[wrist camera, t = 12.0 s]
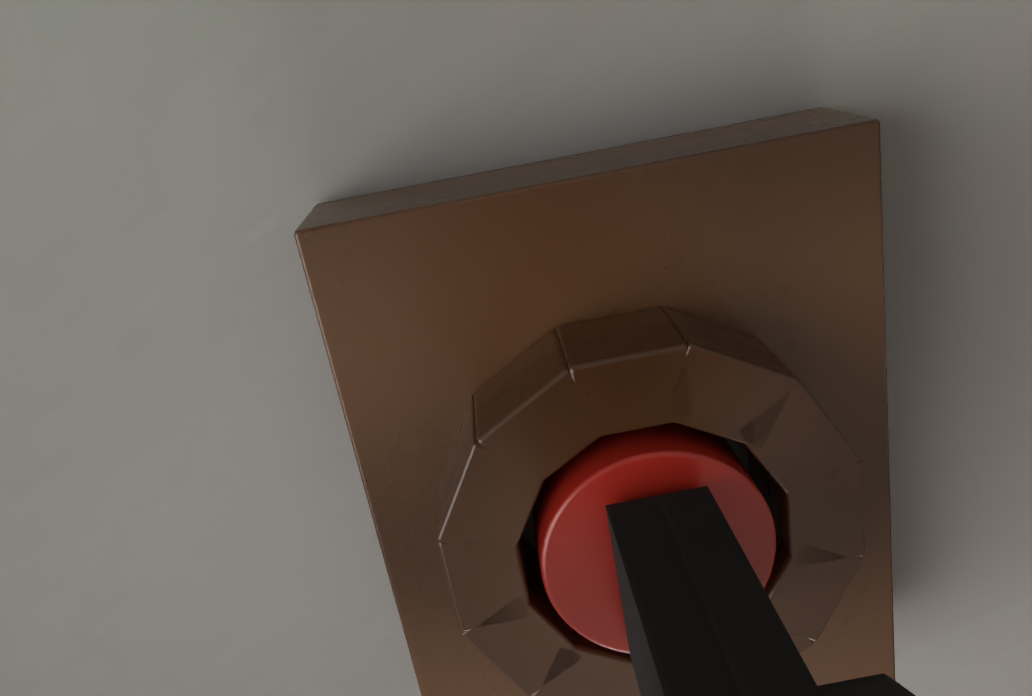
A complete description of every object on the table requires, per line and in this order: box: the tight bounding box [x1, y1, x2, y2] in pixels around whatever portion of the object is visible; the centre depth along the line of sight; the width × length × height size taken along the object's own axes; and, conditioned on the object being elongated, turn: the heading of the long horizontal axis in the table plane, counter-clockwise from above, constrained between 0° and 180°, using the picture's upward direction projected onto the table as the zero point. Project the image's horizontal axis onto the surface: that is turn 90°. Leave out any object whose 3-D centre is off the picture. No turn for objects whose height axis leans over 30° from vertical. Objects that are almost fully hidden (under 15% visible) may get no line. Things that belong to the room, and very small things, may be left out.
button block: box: [294, 108, 895, 696], centre depth 15 cm, size 11×9×4 cm
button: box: [532, 422, 776, 654], centre depth 14 cm, size 4×4×2 cm
